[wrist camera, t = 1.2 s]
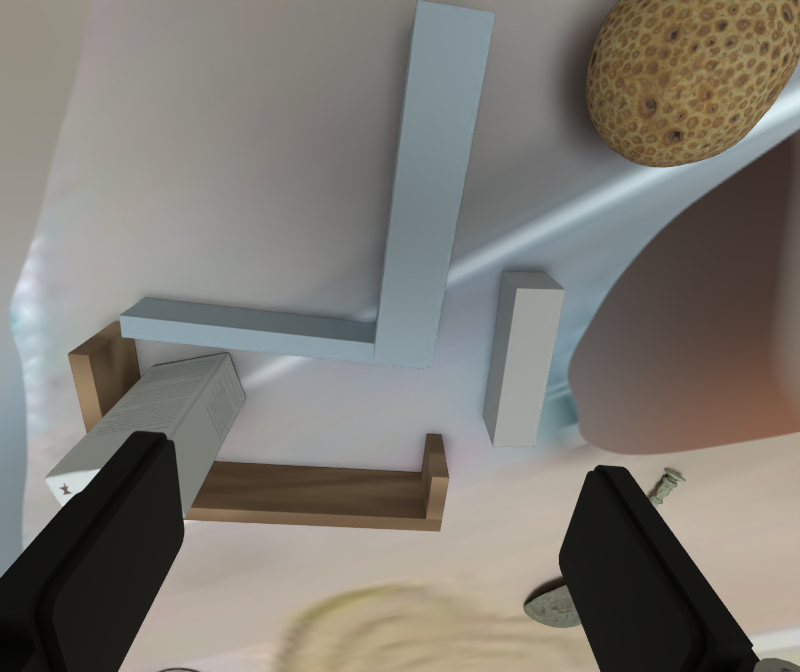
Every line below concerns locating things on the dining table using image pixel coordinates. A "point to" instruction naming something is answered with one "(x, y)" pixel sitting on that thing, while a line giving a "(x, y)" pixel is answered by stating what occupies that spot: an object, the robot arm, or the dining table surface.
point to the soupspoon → (558, 602)
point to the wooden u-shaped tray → (274, 466)
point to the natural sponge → (688, 74)
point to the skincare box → (162, 424)
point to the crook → (407, 223)
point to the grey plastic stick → (521, 356)
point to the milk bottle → (178, 671)
